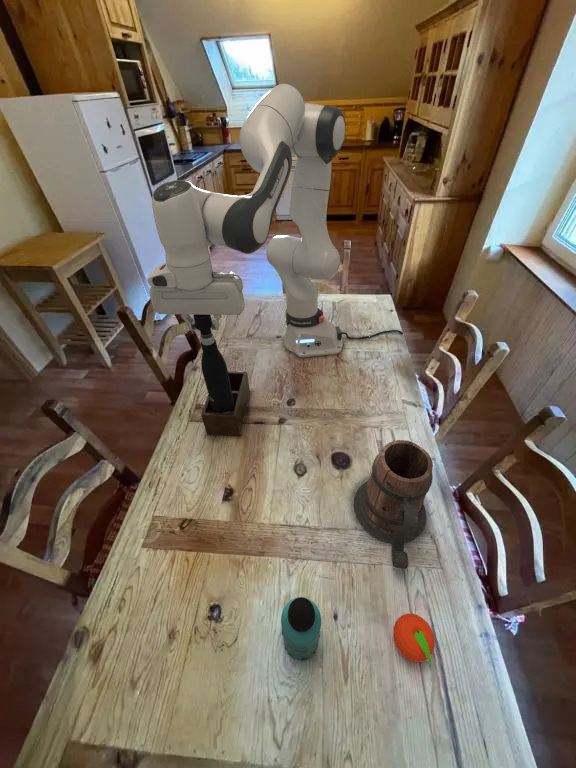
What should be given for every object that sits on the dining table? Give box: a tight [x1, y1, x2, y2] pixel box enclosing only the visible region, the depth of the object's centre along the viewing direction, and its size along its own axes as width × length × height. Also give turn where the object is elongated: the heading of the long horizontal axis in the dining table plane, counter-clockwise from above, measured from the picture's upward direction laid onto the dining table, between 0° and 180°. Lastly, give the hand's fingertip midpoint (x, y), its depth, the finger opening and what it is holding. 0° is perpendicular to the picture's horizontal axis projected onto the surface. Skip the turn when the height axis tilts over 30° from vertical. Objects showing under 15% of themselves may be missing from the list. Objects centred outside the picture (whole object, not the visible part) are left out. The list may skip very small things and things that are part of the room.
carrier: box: [200, 370, 251, 437], centre depth 103 cm, size 10×19×9 cm, turn 176°
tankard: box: [353, 439, 434, 570], centre depth 72 cm, size 24×17×20 cm
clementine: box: [392, 613, 436, 667], centre depth 60 cm, size 8×7×7 cm
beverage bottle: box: [280, 596, 322, 663], centre depth 56 cm, size 6×7×20 cm
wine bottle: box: [192, 314, 234, 413], centre depth 88 cm, size 6×6×30 cm
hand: (204, 328), depth 80 cm, fingers closed on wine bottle, 4 cm apart
